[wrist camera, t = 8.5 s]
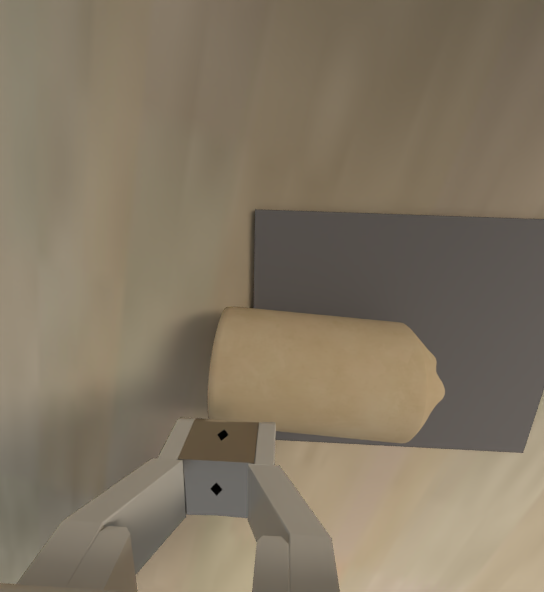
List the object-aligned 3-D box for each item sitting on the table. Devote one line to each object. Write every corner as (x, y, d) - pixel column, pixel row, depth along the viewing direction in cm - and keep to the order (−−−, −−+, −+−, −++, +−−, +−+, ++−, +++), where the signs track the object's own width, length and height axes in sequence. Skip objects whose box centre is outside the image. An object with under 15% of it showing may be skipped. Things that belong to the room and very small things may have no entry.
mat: (592, 221, 14) (598, 221, 14) (519, 449, 18) (523, 452, 18) (255, 209, 15) (255, 209, 15) (251, 435, 19) (251, 438, 18)
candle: (223, 402, 17) (397, 419, 16) (199, 447, 11) (460, 473, 11) (233, 306, 17) (404, 323, 17) (214, 304, 11) (469, 328, 11)
